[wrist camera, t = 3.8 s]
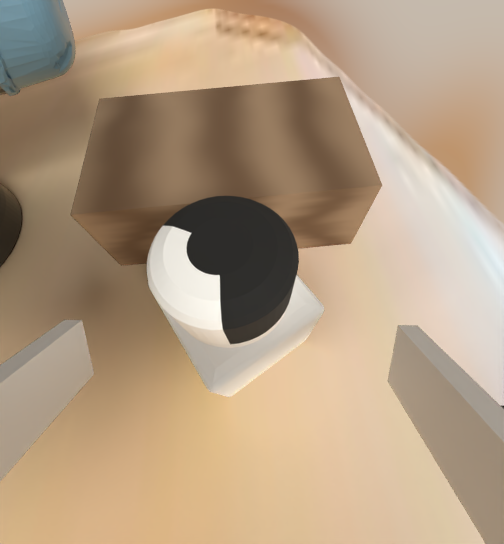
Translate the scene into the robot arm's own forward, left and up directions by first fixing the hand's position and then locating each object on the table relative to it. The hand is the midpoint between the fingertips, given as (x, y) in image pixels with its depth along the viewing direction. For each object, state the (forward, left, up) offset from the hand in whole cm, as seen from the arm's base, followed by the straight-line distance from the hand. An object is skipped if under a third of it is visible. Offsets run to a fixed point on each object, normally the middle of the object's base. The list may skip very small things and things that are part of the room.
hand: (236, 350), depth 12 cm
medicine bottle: (-3, +2, -9) cm, 10 cm away
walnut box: (-13, +9, -9) cm, 18 cm away
